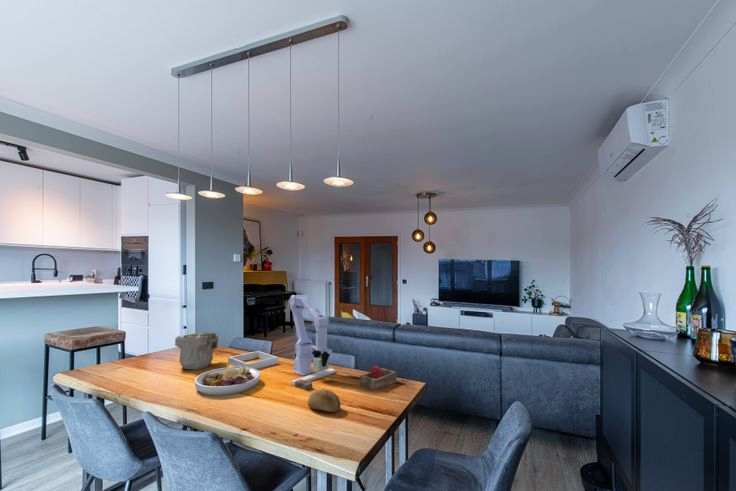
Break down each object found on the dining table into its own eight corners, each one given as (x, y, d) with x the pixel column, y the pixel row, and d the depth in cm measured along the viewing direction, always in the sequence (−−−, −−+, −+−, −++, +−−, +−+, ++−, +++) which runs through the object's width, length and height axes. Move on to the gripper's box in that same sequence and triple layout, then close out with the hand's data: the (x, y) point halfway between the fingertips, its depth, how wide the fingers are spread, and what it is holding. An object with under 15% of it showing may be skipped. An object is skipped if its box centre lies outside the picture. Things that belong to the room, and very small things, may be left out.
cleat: (294, 386, 165) (294, 381, 165) (301, 384, 168) (301, 379, 168) (305, 390, 159) (306, 385, 159) (312, 388, 162) (312, 383, 163)
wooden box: (360, 385, 167) (360, 375, 167) (380, 377, 180) (380, 367, 181) (376, 390, 160) (376, 380, 161) (396, 381, 174) (396, 371, 174)
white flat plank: (291, 383, 168) (291, 380, 168) (330, 370, 190) (330, 368, 190) (296, 385, 165) (296, 382, 165) (335, 372, 187) (335, 369, 187)
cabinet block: (313, 369, 174) (313, 358, 174) (322, 366, 179) (323, 355, 180) (318, 371, 171) (319, 359, 171) (328, 368, 176) (328, 357, 177)
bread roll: (334, 417, 132) (334, 397, 132) (302, 411, 137) (302, 391, 138) (344, 408, 141) (344, 389, 141) (314, 402, 146) (314, 383, 147)
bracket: (366, 382, 171) (367, 367, 171) (369, 379, 175) (370, 364, 175) (387, 388, 166) (388, 372, 166) (390, 385, 170) (392, 370, 170)
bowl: (185, 385, 164) (185, 369, 164) (242, 372, 186) (243, 358, 186) (209, 403, 143) (209, 385, 144) (270, 386, 165) (271, 370, 166)
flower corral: (228, 363, 199) (228, 357, 200) (257, 357, 215) (258, 350, 216) (247, 371, 186) (247, 364, 186) (277, 363, 202) (277, 356, 202)
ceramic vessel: (184, 345, 210) (209, 315, 209) (211, 371, 206) (236, 340, 206) (157, 353, 187) (185, 320, 187) (186, 383, 184) (215, 349, 183)
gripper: (306, 338, 177) (306, 364, 177) (325, 342, 168) (324, 369, 167) (316, 336, 183) (315, 361, 182) (335, 340, 174) (334, 366, 173)
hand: (320, 365), depth 175 cm, fingers closed on cabinet block, 4 cm apart
